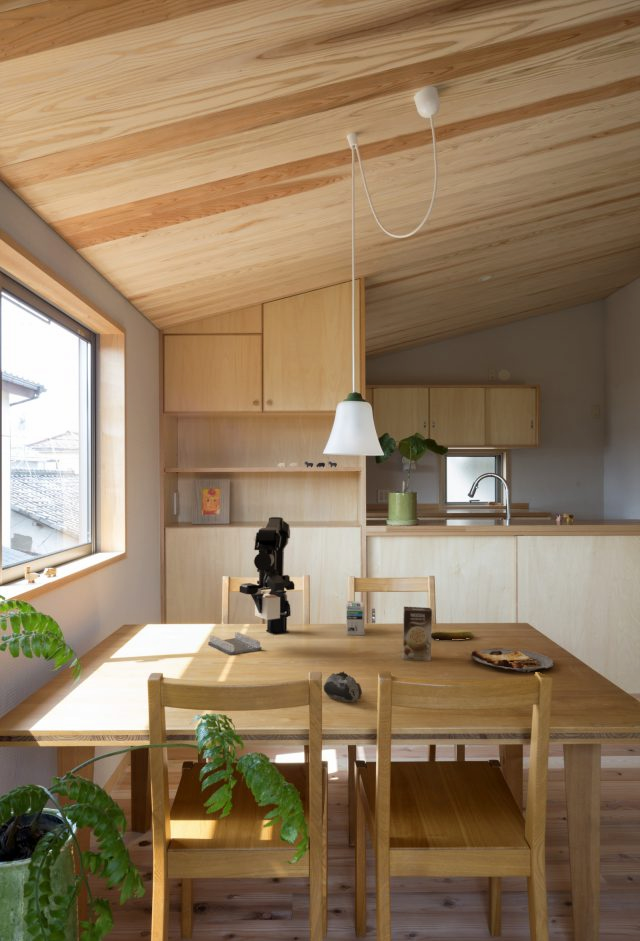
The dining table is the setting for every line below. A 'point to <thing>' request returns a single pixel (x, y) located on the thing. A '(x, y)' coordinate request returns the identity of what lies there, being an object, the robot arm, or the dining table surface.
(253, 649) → the rail plate
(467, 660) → the dining table surface
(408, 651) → the coffee box
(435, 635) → the green pickle
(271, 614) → the module block
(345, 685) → the dark grey rounded lump
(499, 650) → the food plate
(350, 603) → the light bulb box
